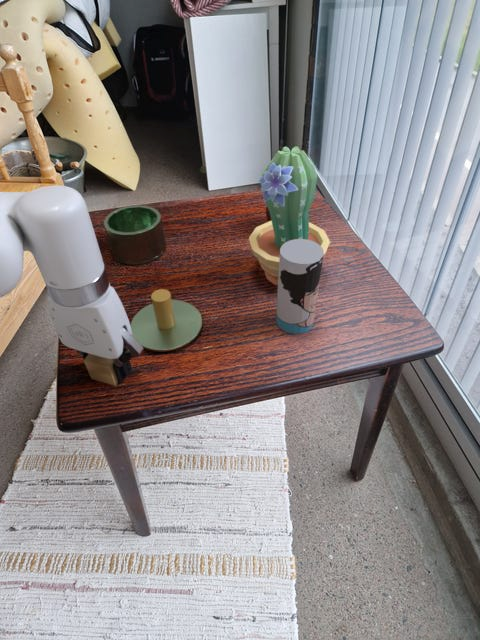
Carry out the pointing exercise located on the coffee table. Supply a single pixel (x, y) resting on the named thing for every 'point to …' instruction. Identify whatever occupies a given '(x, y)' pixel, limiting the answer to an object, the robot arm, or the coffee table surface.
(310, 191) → the potted cactus
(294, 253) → the white printed cylinder
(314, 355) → the coffee table surface
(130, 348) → the robot arm
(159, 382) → the coffee table surface
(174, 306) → the lid
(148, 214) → the bowl
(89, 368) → the block
